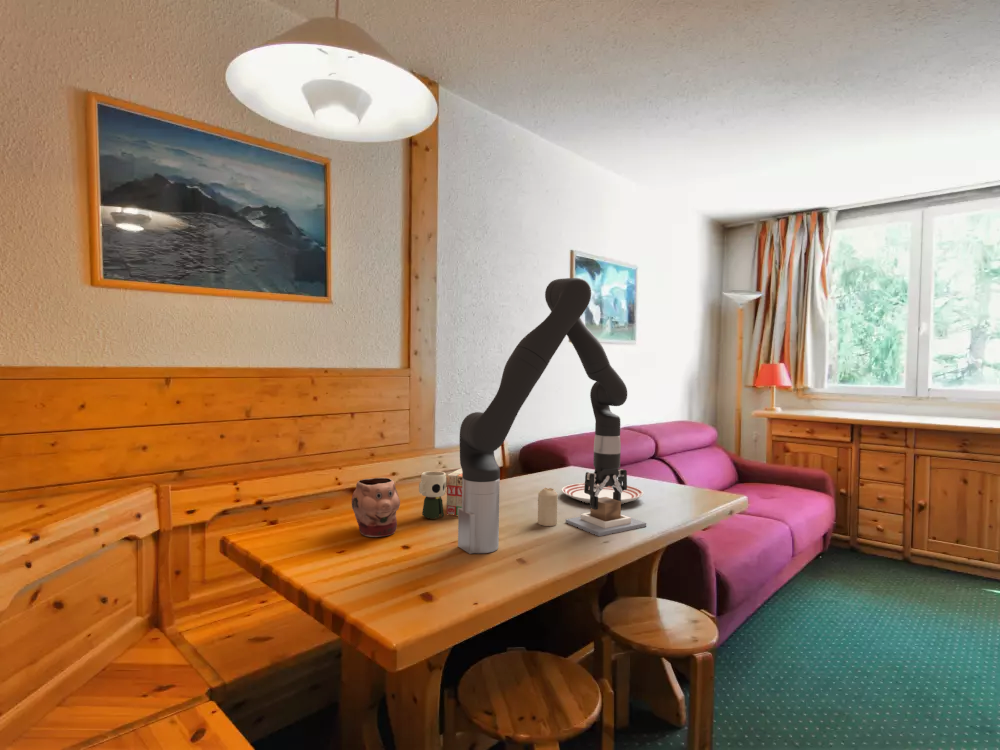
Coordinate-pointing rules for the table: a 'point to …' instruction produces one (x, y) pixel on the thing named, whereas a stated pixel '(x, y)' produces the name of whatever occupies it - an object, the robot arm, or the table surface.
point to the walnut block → (607, 509)
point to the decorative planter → (376, 506)
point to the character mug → (433, 493)
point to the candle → (547, 507)
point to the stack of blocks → (454, 492)
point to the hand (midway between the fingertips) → (605, 507)
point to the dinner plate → (601, 493)
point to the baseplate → (604, 524)
